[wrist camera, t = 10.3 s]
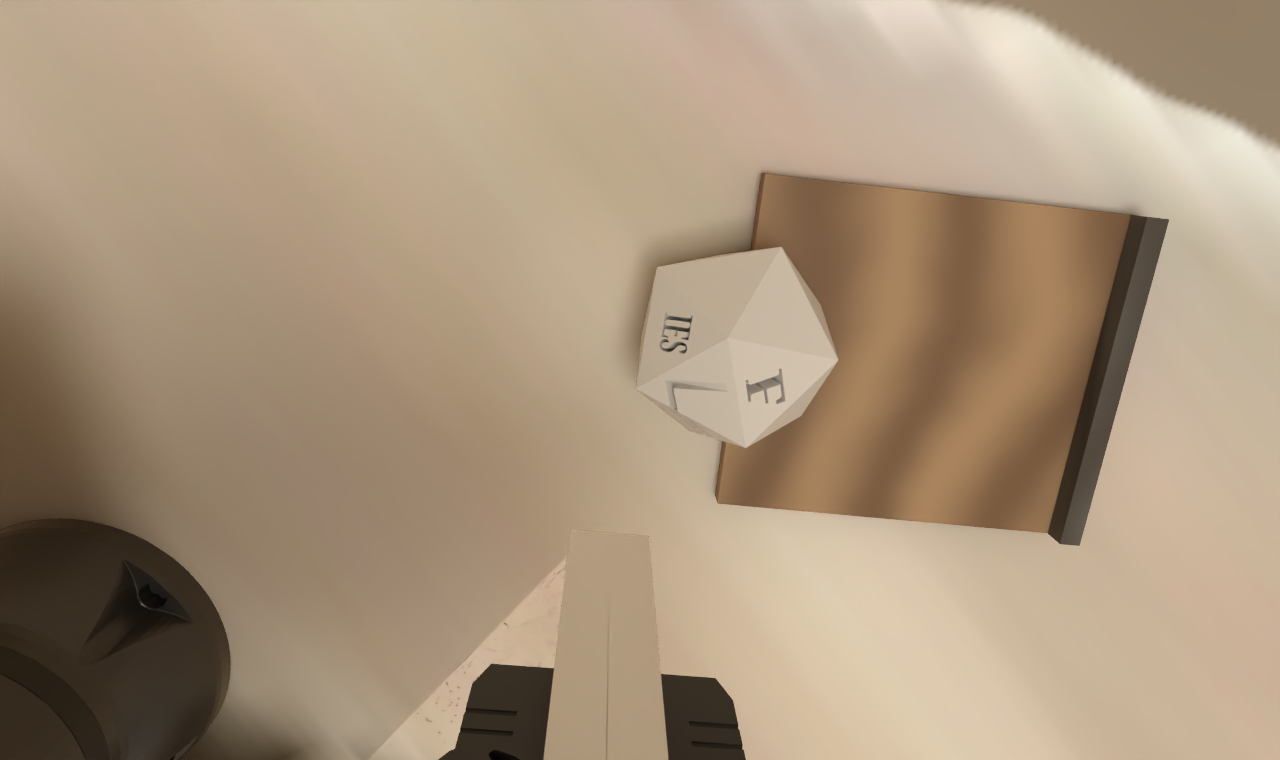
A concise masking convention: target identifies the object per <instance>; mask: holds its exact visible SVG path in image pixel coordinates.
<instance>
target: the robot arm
mask: <svg viewBox="0 0 1280 760" xmlns="http://www.w3.org/2000/svg"><path fill="white" fill-rule="evenodd" d="M230 663H231V661H230V650H229V644H228V639H227V635H226V632H225V629H224V626H223V623H222V621H221V618H220V616H219V614H218V612H217V610H216V608H215V606H214V604H213V603H212V601H211V600H210V598H209V596H208V595H207V594H206V592H205V591H204V589H203V588H202V587H201V586H200V584H199V583H198V582H197V581H196V580H195V579H194V577H193V576H192V575H191V574H190V573H189V572H188V571H187V570H186V569H185V568H184V567H182V566H181V565H180V564H179V563H178V562H177V561H175V560H174V559H173V558H172V557H170V556H169V555H168V554H166V553H165V552H163V551H162V550H160V549H159V548H157V547H156V546H154V545H152V544H151V543H149V542H147V541H145V540H143V539H141V538H139V537H137V536H135V535H132V534H130V533H128V532H125V531H122V530H120V529H117V528H114V527H110V526H107V525H103V524H99V523H94V522H89V521H82V520H74V519H45V520H36V521H30V522H25V523H21V524H17V525H14V526H10V527H7V528H5V529H2V530H0V760H179V759H180V758H181V757H182V756H184V755H185V754H186V753H187V752H188V751H189V750H190V749H191V748H192V747H193V746H194V745H195V744H196V743H197V742H198V740H199V739H200V738H201V737H202V735H203V734H204V733H205V731H206V730H207V729H208V727H209V726H210V724H211V723H212V722H213V720H214V718H215V717H216V715H217V714H218V712H219V710H220V708H221V706H222V704H223V701H224V699H225V696H226V693H227V689H228V684H229V679H230ZM439 760H746V759H745V754H744V750H742V740H741V736H740V731H739V729H738V722H737V717H736V713H735V708H734V704H733V700H732V699H731V697H730V696H729V695H728V694H727V692H726V691H725V690H724V689H723V687H722V686H721V685H720V684H719V682H718V681H717V680H716V678H706V677H692V676H679V675H665V674H661V670H660V659H659V647H658V636H657V625H656V614H655V603H654V591H653V580H652V569H651V558H650V547H649V536H642V535H631V534H619V533H607V532H595V531H583V530H571V529H570V538H569V546H568V555H567V563H566V572H565V580H564V589H563V597H562V606H561V614H560V623H559V631H558V640H557V648H556V657H555V665H554V669H553V668H540V667H526V666H513V665H499V664H491V665H490V666H489V667H488V668H487V669H486V670H485V671H484V672H483V673H482V674H481V675H480V676H479V677H478V678H477V680H476V681H475V682H474V683H473V684H472V687H471V691H470V695H469V699H468V702H467V706H466V712H465V714H464V717H463V721H462V725H461V730H460V733H459V736H458V740H457V743H456V747H455V749H454V750H451V751H449V752H448V753H446V754H445V755H444V756H443V757H441V758H440V759H439Z"/></svg>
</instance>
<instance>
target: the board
mask: <svg viewBox="0 0 1280 760" xmlns="http://www.w3.org/2000/svg"><path fill="white" fill-rule="evenodd" d="M1168 222H1169V219H1160V218H1152V217H1143V216H1135V215H1126V214H1117V213H1108V212H1099V211H1090V210H1082V209H1073V208H1064V207H1055V206H1046V205H1037V204H1029V203H1020V202H1011V201H1002V200H993V199H984V198H976V197H967V196H958V195H949V194H940V193H931V192H923V191H914V190H905V189H896V188H887V187H878V186H870V185H861V184H852V183H843V182H834V181H825V180H817V179H808V178H799V177H790V176H781V175H772V174H764V173H762V174H761V181H760V188H759V195H758V202H757V209H756V216H755V223H754V230H753V237H752V244H751V251H752V250H760V249H768V248H776V247H782V248H783V250H784V251H785V253H786V254H787V256H788V257H789V259H790V260H791V262H792V263H793V265H794V266H795V268H796V269H797V271H798V272H799V274H800V275H801V277H802V278H803V279H804V281H805V282H806V284H807V285H808V287H809V288H810V290H811V291H812V293H813V294H814V296H815V297H816V299H817V300H818V302H819V303H820V305H821V307H822V310H823V313H824V317H825V320H826V323H827V326H828V329H829V332H830V335H831V338H832V341H833V345H834V348H835V351H836V354H837V357H838V362H837V363H836V365H835V366H834V368H833V369H832V371H831V372H830V374H829V375H828V377H827V378H826V380H825V381H824V383H823V384H822V386H821V387H820V389H819V390H818V392H817V393H816V395H815V396H814V398H813V399H812V400H811V402H810V403H809V405H808V406H807V408H806V409H805V411H804V412H803V414H802V415H801V416H800V417H799V418H797V419H795V420H793V421H792V422H790V423H788V424H787V425H785V426H783V427H781V428H780V429H778V430H776V431H774V432H773V433H771V434H769V435H768V436H766V437H764V438H762V439H761V440H759V441H757V442H755V443H754V444H752V445H750V446H749V447H747V448H744V447H741V446H737V445H734V444H731V443H728V442H724V441H723V445H722V452H721V459H720V466H719V473H718V480H717V487H716V494H715V496H716V500H717V503H719V504H730V505H741V506H752V507H764V508H775V509H786V510H797V511H808V512H819V513H830V514H841V515H852V516H863V517H874V518H886V519H897V520H908V521H919V522H930V523H941V524H952V525H963V526H974V527H985V528H996V529H1008V530H1019V531H1030V532H1041V533H1048V534H1049V535H1050V536H1051V537H1053V538H1054V539H1055V540H1056V541H1057V542H1058V543H1059V544H1066V545H1077V546H1079V545H1080V542H1081V538H1082V534H1083V531H1084V527H1085V524H1086V520H1087V516H1088V513H1089V509H1090V505H1091V502H1092V498H1093V494H1094V491H1095V487H1096V484H1097V480H1098V476H1099V473H1100V469H1101V465H1102V462H1103V458H1104V454H1105V451H1106V447H1107V444H1108V440H1109V436H1110V433H1111V429H1112V425H1113V422H1114V418H1115V414H1116V411H1117V407H1118V404H1119V400H1120V396H1121V393H1122V389H1123V385H1124V382H1125V378H1126V374H1127V371H1128V367H1129V363H1130V360H1131V356H1132V353H1133V349H1134V345H1135V342H1136V338H1137V334H1138V331H1139V327H1140V323H1141V320H1142V316H1143V313H1144V309H1145V305H1146V302H1147V298H1148V294H1149V291H1150V287H1151V283H1152V280H1153V276H1154V273H1155V269H1156V265H1157V262H1158V258H1159V254H1160V251H1161V247H1162V243H1163V240H1164V236H1165V233H1166V229H1167V225H1168Z"/></svg>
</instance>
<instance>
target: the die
mask: <svg viewBox="0 0 1280 760" xmlns="http://www.w3.org/2000/svg"><path fill="white" fill-rule="evenodd" d="M837 362H838V357H837V354H836V351H835V348H834V345H833V341H832V338H831V335H830V332H829V329H828V326H827V323H826V320H825V317H824V313H823V310H822V307H821V305H820V303H819V302H818V300H817V299H816V297H815V296H814V294H813V293H812V291H811V290H810V288H809V287H808V285H807V284H806V282H805V281H804V279H803V278H802V277H801V275H800V274H799V272H798V271H797V269H796V268H795V266H794V265H793V263H792V262H791V260H790V259H789V257H788V256H787V254H786V253H785V251H784V250H783V248H782V247H776V248H768V249H760V250H752V251H745V252H737V253H729V254H722V255H716V256H711V257H706V258H701V259H696V260H690V261H685V262H680V263H675V264H670V265H665V266H660V267H657V270H656V274H655V278H654V282H653V287H652V291H651V295H650V300H649V304H648V308H647V313H646V317H645V321H644V325H643V330H642V336H641V345H640V355H639V364H638V373H637V382H636V389H637V390H638V391H639V392H640V393H642V394H643V395H644V396H646V397H647V398H648V399H649V400H651V401H652V402H653V403H655V404H656V405H657V406H658V407H660V408H661V409H662V410H664V411H665V412H666V413H667V414H669V415H670V416H671V417H673V418H674V419H675V420H676V421H678V422H679V423H680V424H682V425H683V426H684V427H685V428H687V429H688V430H689V431H692V432H695V433H698V434H702V435H705V436H708V437H711V438H715V439H718V440H721V441H724V442H728V443H731V444H734V445H737V446H741V447H744V448H747V447H749V446H750V445H752V444H754V443H755V442H757V441H759V440H761V439H762V438H764V437H766V436H768V435H769V434H771V433H773V432H774V431H776V430H778V429H780V428H781V427H783V426H785V425H787V424H788V423H790V422H792V421H793V420H795V419H797V418H799V417H800V416H801V415H802V414H803V412H804V411H805V409H806V408H807V406H808V405H809V403H810V402H811V400H812V399H813V398H814V396H815V395H816V393H817V392H818V390H819V389H820V387H821V386H822V384H823V383H824V381H825V380H826V378H827V377H828V375H829V374H830V372H831V371H832V369H833V368H834V366H835V365H836V363H837Z"/></svg>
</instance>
